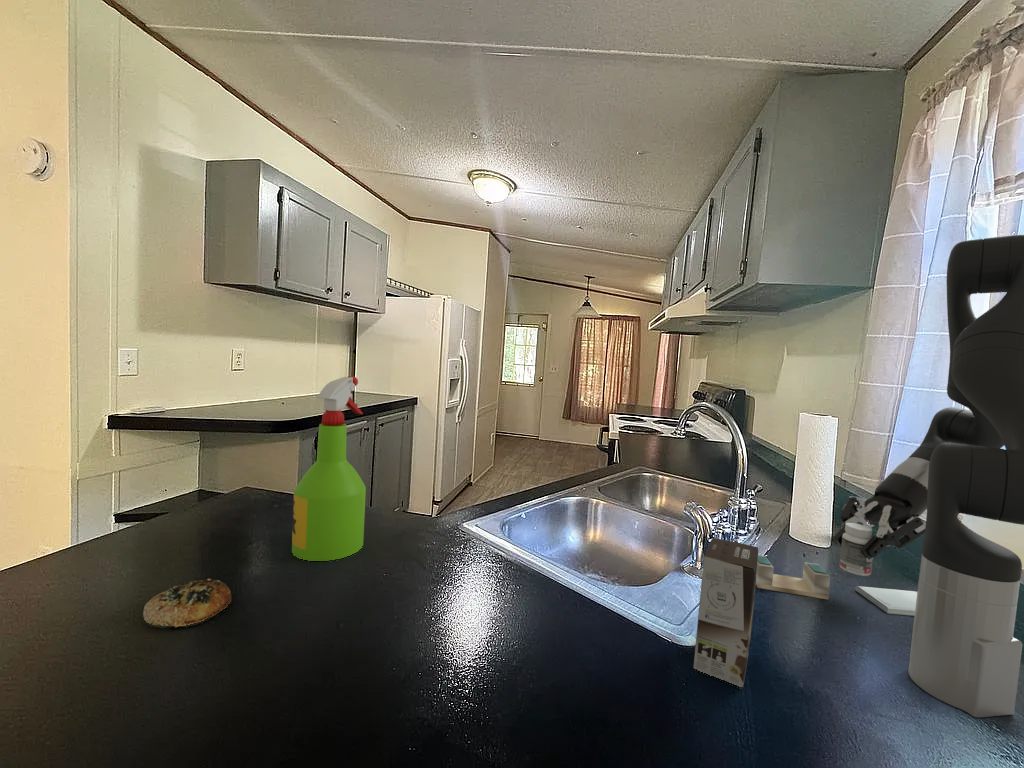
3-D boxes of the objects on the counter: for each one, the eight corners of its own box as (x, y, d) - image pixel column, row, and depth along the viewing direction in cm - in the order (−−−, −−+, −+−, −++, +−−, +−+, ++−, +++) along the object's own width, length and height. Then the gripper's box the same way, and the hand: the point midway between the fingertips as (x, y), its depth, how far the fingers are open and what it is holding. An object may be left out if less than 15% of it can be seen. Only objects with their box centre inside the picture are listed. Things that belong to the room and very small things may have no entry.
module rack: (815, 584, 89) (817, 562, 89) (828, 599, 84) (831, 576, 83) (749, 573, 92) (751, 552, 92) (757, 587, 87) (759, 564, 86)
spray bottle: (383, 531, 102) (390, 377, 101) (342, 566, 85) (351, 380, 83) (327, 524, 104) (333, 373, 103) (276, 557, 86) (283, 375, 85)
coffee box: (744, 691, 58) (756, 569, 57) (691, 670, 61) (702, 554, 61) (750, 654, 66) (760, 546, 65) (703, 637, 69) (712, 534, 68)
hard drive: (888, 607, 80) (961, 613, 79) (855, 584, 88) (921, 590, 88) (887, 616, 80) (960, 622, 80) (854, 593, 88) (921, 598, 88)
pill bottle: (871, 579, 81) (876, 533, 81) (839, 570, 84) (843, 526, 83) (870, 570, 85) (874, 526, 84) (839, 562, 88) (843, 520, 87)
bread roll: (236, 586, 75) (235, 559, 74) (226, 632, 65) (225, 602, 64) (154, 599, 71) (151, 571, 70) (129, 652, 61) (126, 619, 60)
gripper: (865, 464, 92) (808, 521, 90) (943, 482, 78) (877, 551, 76) (885, 490, 93) (829, 547, 91) (965, 513, 79) (900, 581, 77)
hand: (851, 548), depth 84 cm, fingers closed on pill bottle, 4 cm apart
